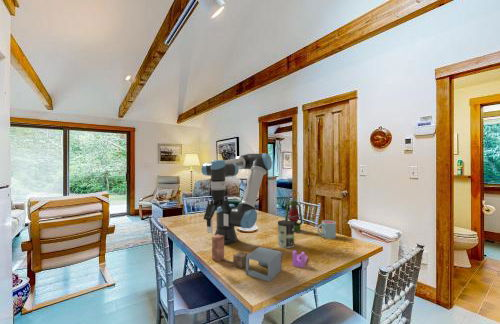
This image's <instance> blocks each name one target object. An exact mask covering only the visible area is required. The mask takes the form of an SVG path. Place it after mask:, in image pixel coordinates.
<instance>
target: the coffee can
mask: <svg viewBox="0 0 500 324" xmlns="http://www.w3.org/2000/svg"><path fill="white" fill-rule="evenodd" d="M294 224H295V223H294V222H293V221H290V220H289V219H288V220H285V219H283V220H278V221H277V245H278V247H280V248H285V249H289V248H293V247H295V233H294Z"/></svg>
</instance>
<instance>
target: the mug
mask: <svg viewBox="0 0 500 324" xmlns="http://www.w3.org/2000/svg"><path fill="white" fill-rule="evenodd" d="M320 228H321V232H320ZM317 233H318V234H319V235H320V236H321V237H322V238H324V239H329V240H331V239H333V240H334V239H336V236H337V235H336V233H337V222H336V221H334V220H328V219H326V220H325V219H324V220H321V223H320V224H319V225H318V226H317Z"/></svg>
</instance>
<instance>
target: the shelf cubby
mask: <svg viewBox="0 0 500 324" xmlns="http://www.w3.org/2000/svg"><path fill="white" fill-rule="evenodd" d="M250 260H251V261H255V262H258V265H259V266H263V267H265V268H267V274H265V273H261V272H258V271H255V270H251V269H250ZM282 265H283V264H282V251H280V250H275V249H270V248H267V247H261V246H259V247H257V248H255V249H254V250H252V251H251V252H249V253H247V256H246V266H245V275H246V276H250V277H253V278H256V279H259V280H263V281H266V282H271V281H272V280H273V279H274V278H275V277H277V275H278V274H279V273H280V272H281V270H282Z"/></svg>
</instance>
